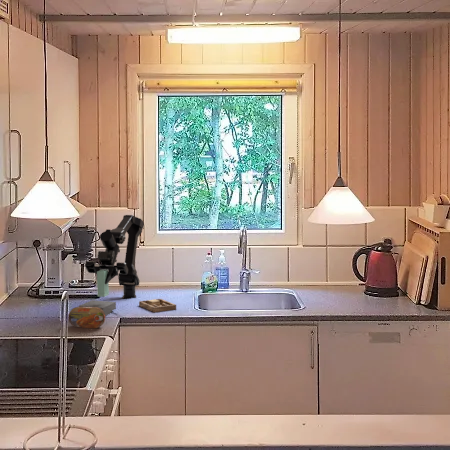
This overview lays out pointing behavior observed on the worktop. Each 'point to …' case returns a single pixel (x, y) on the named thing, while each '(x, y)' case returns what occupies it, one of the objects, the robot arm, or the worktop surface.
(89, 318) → the tin
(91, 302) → the plinth
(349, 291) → the worktop surface
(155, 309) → the rack
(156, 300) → the offcut upper
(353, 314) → the worktop surface
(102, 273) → the mint green block
